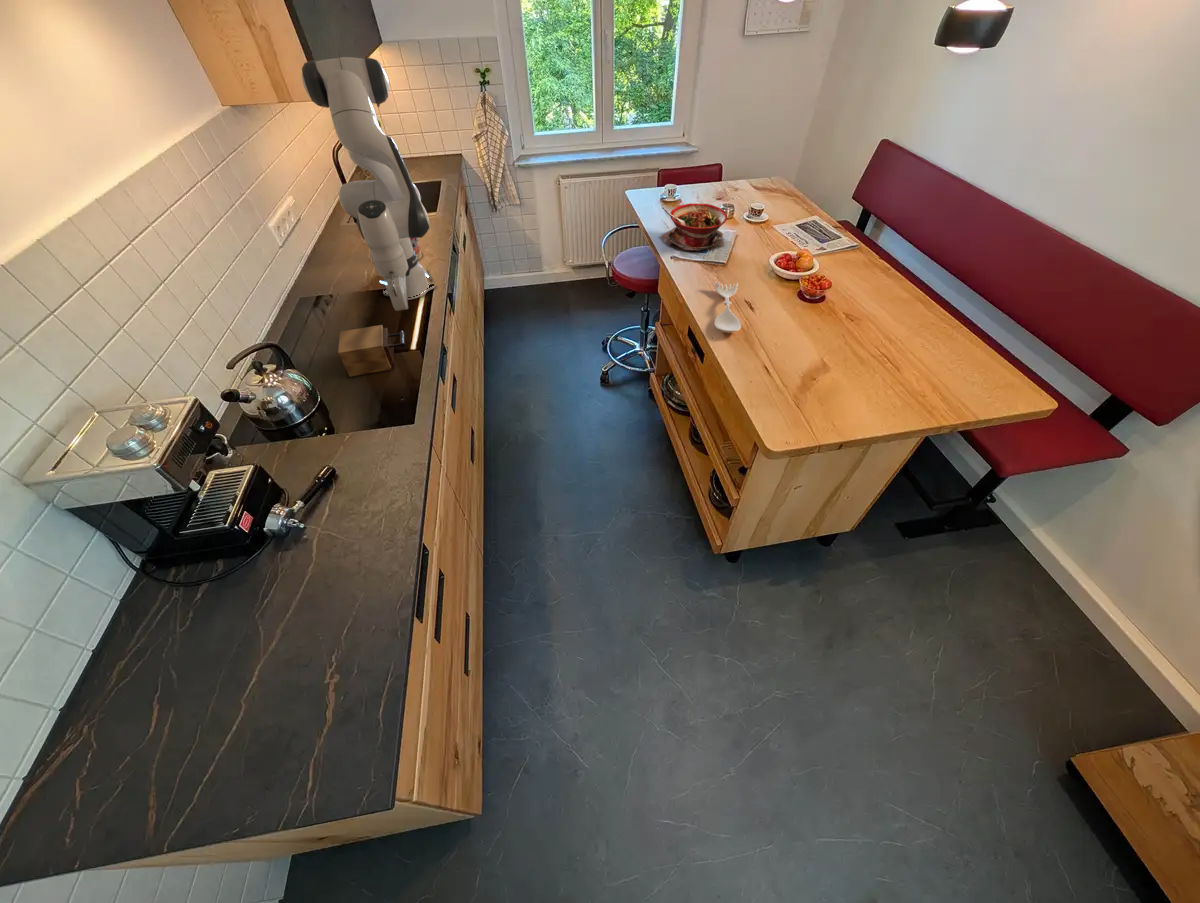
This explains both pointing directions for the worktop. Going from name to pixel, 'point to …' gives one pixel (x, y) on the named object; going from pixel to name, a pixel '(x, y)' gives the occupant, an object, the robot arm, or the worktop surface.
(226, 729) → the worktop surface
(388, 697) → the worktop surface
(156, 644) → the worktop surface
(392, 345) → the drawer
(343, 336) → the cabinet
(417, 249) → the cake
